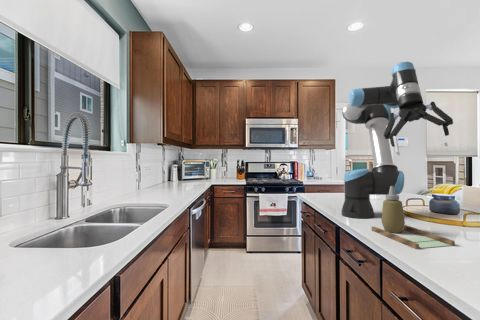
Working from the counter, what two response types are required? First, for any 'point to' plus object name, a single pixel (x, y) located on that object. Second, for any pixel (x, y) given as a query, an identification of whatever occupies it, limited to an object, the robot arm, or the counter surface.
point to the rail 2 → (430, 235)
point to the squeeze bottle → (392, 213)
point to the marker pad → (426, 242)
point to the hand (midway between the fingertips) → (420, 149)
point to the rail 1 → (396, 237)
